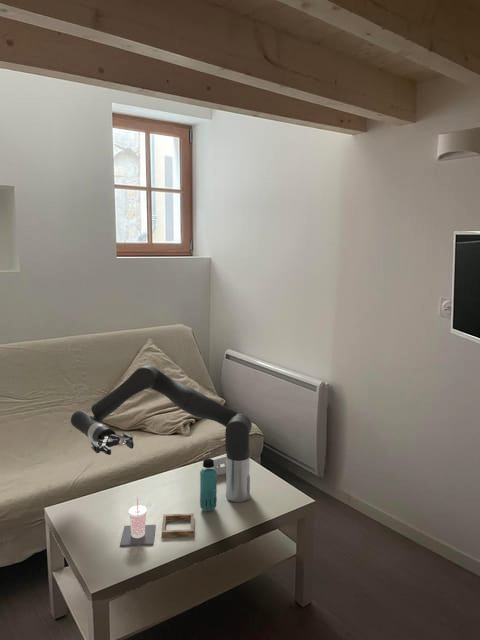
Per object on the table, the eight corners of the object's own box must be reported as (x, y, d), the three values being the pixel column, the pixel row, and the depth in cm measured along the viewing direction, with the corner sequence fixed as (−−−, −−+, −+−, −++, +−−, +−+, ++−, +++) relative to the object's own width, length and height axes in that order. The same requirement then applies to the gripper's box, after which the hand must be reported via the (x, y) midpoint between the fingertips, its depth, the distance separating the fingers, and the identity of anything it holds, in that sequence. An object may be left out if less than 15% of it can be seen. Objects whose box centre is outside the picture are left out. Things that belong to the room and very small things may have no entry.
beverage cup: (127, 531, 171) (126, 494, 168) (144, 527, 173) (144, 490, 171) (131, 541, 165) (130, 502, 163) (149, 537, 167) (148, 499, 165)
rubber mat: (155, 526, 175) (155, 524, 175) (153, 545, 164) (153, 543, 164) (124, 527, 174) (124, 525, 174) (119, 546, 163) (119, 544, 163)
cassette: (211, 477, 211) (211, 461, 210) (209, 475, 213) (209, 459, 211) (234, 471, 218) (235, 454, 216) (232, 469, 219) (232, 453, 218)
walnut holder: (193, 518, 180) (193, 513, 180) (193, 536, 169) (193, 531, 169) (163, 519, 179) (163, 514, 179) (161, 537, 168) (161, 532, 168)
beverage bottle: (203, 516, 182) (204, 465, 178) (196, 507, 187) (197, 458, 184) (219, 512, 185) (220, 462, 181) (212, 503, 190) (212, 455, 187)
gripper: (82, 429, 180) (102, 444, 167) (118, 421, 189) (139, 434, 177) (83, 449, 181) (102, 464, 169) (119, 439, 190) (139, 453, 178)
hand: (121, 449), depth 173 cm, fingers open, 8 cm apart
